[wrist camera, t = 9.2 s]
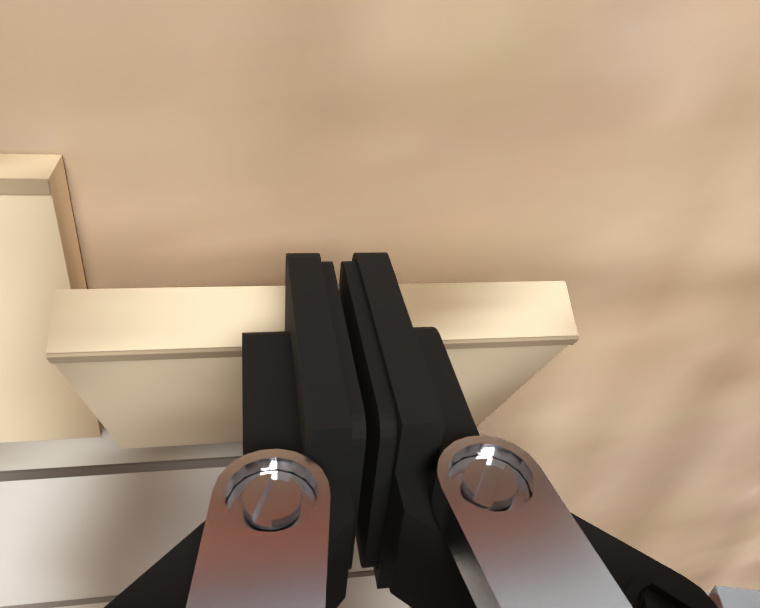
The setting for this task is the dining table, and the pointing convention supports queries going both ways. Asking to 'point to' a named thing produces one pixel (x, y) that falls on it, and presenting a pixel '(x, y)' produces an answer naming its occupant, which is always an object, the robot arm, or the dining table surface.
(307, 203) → the dining table surface
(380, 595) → the floor rows
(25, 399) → the plank
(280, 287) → the plank
